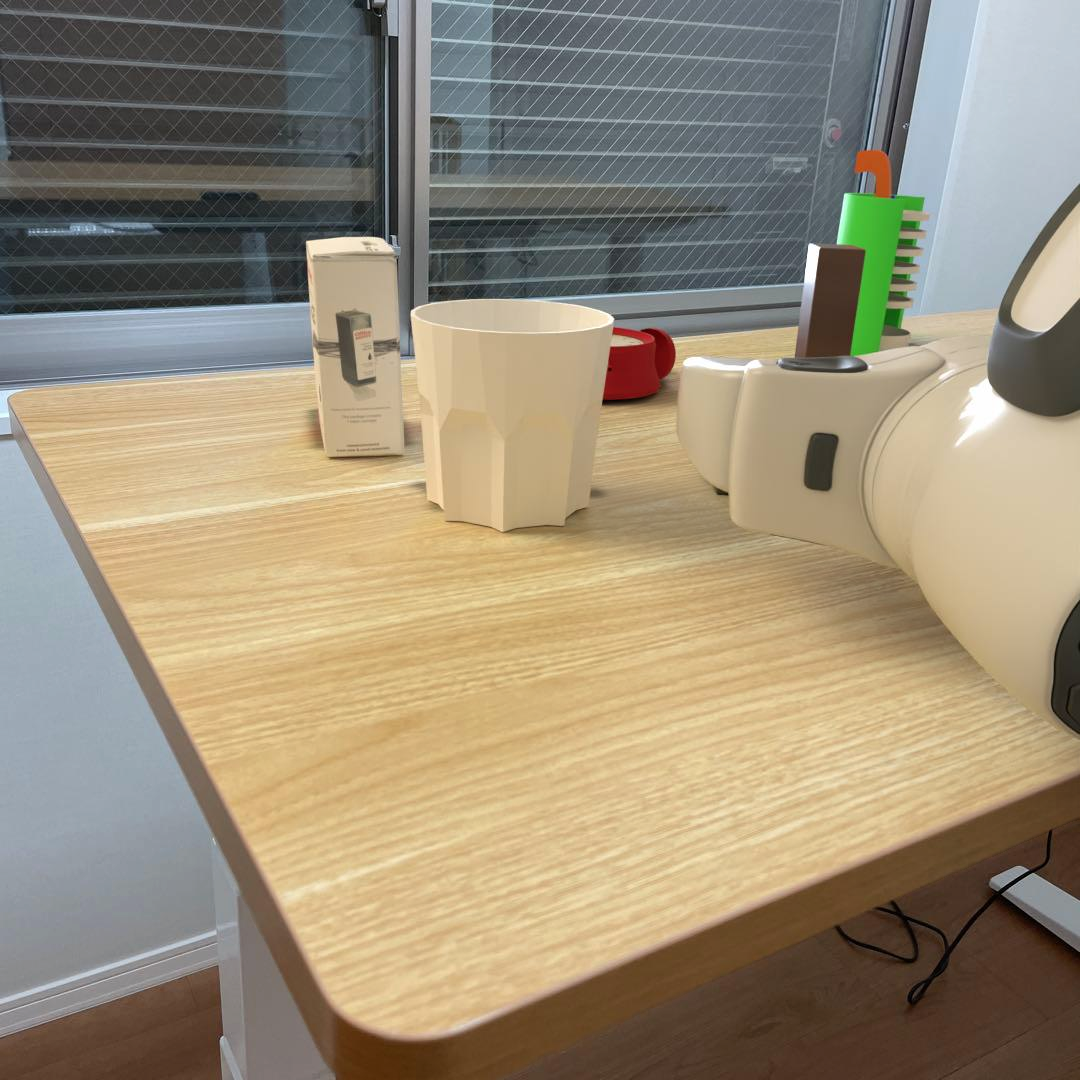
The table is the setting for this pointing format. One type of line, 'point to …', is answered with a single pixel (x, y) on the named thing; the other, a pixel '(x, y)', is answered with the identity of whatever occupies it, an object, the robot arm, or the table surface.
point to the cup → (510, 407)
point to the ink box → (356, 345)
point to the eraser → (829, 300)
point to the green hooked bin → (882, 255)
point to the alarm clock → (637, 362)
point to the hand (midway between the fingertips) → (867, 379)
